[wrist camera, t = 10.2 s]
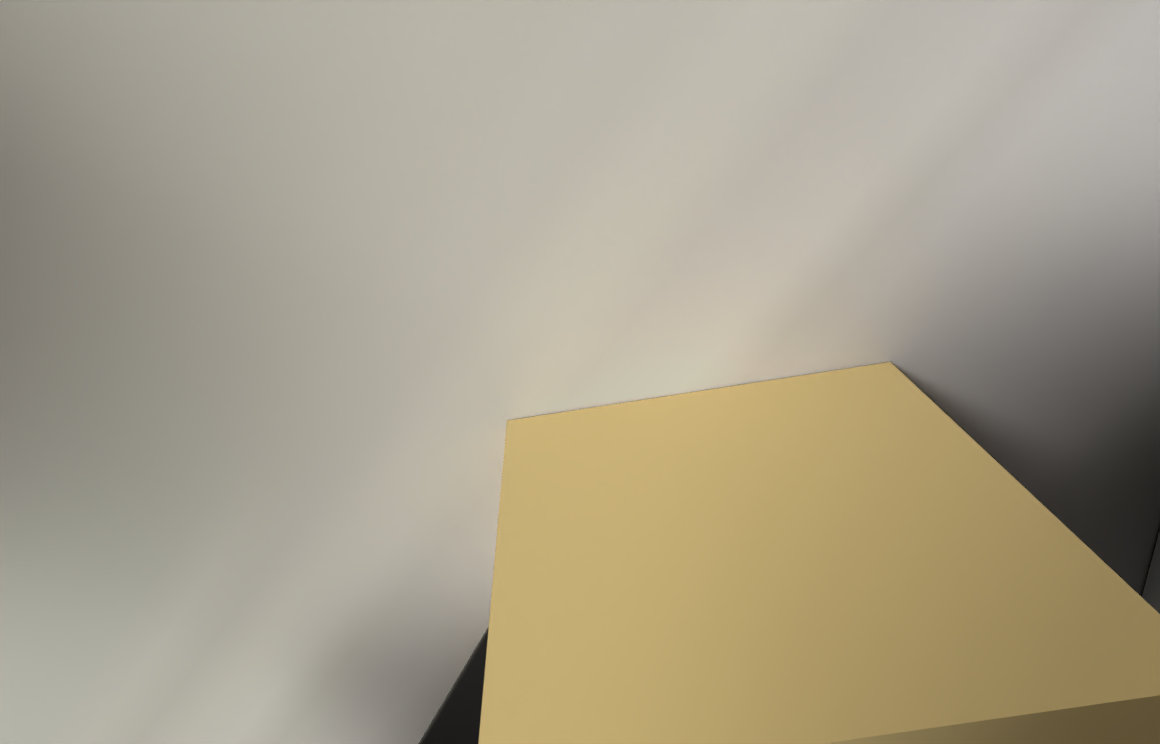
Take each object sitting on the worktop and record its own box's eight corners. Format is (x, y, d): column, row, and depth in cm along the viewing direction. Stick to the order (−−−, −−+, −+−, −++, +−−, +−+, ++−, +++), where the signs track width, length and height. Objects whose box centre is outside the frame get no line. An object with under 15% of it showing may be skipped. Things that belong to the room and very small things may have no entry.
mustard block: (566, 687, 10) (582, 1119, 6) (507, 420, 8) (474, 794, 4) (876, 643, 10) (1099, 1050, 6) (890, 361, 8) (1233, 684, 4)
